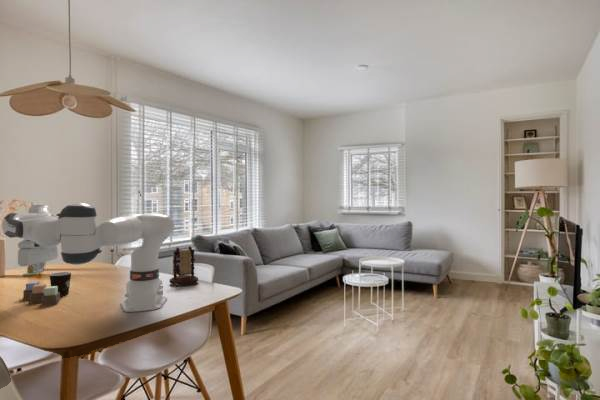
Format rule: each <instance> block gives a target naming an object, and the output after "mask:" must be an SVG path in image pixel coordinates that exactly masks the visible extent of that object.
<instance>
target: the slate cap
mask: <svg viewBox="0 0 600 400" xmlns="http://www.w3.org/2000/svg"><path fill="white" fill-rule="evenodd" d="M37 284H40V281H28V282H27V283H25V290H26V291H29V290H32V287H33V286H34V285H37Z"/></svg>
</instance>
